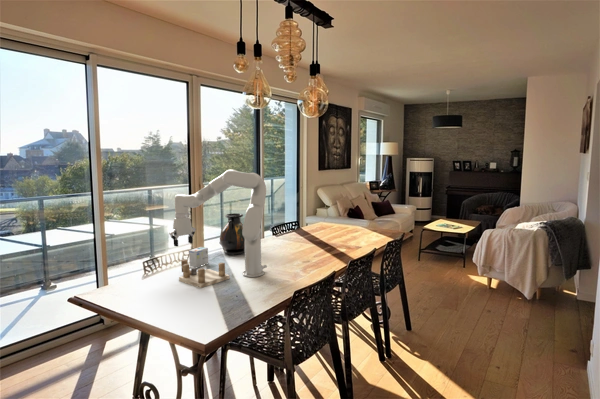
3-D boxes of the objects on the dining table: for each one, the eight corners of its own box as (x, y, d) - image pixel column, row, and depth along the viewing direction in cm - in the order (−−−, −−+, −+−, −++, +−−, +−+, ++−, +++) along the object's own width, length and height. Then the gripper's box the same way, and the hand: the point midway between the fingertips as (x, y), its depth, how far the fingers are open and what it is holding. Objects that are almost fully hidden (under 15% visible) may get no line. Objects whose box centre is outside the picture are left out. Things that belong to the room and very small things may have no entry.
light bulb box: (201, 262, 255) (200, 246, 254) (208, 263, 252) (208, 247, 250) (189, 266, 246) (188, 249, 245) (196, 267, 243) (196, 251, 241)
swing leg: (180, 271, 228) (180, 260, 227) (185, 270, 230) (185, 259, 230) (192, 275, 220) (192, 264, 219) (198, 274, 223) (197, 262, 222)
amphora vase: (245, 257, 267) (244, 217, 263) (215, 256, 270) (214, 216, 267) (253, 249, 288) (252, 212, 284) (226, 248, 291) (224, 212, 288)
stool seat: (207, 272, 233) (207, 257, 232) (229, 278, 221) (229, 263, 220) (179, 280, 218) (178, 265, 217) (200, 288, 206) (199, 271, 204)
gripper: (190, 213, 232) (192, 241, 234) (165, 217, 219) (166, 246, 221) (198, 214, 228) (199, 242, 230) (172, 218, 214) (174, 248, 216)
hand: (183, 244), depth 225 cm, fingers open, 9 cm apart
